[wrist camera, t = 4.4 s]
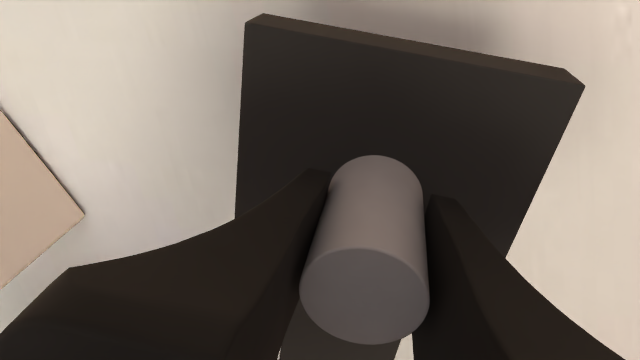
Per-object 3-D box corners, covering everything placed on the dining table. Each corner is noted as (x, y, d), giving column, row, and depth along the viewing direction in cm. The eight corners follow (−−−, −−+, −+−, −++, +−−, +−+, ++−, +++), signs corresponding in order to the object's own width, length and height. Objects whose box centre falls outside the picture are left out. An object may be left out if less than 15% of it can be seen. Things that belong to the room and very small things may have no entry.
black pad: (239, 337, 18) (180, 477, 13) (262, 12, 12) (162, 62, 7) (428, 384, 18) (437, 548, 13) (565, 68, 11) (687, 165, 6)
